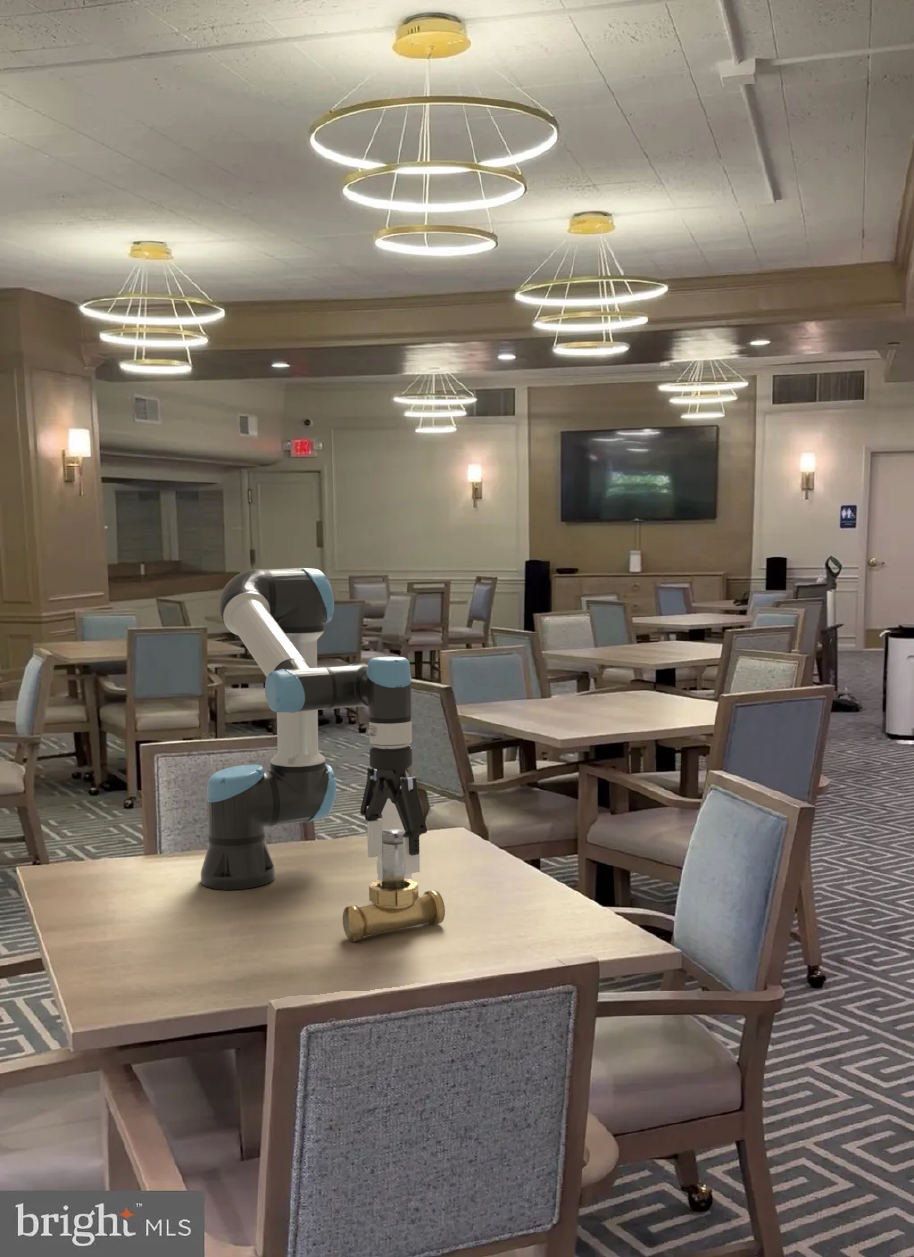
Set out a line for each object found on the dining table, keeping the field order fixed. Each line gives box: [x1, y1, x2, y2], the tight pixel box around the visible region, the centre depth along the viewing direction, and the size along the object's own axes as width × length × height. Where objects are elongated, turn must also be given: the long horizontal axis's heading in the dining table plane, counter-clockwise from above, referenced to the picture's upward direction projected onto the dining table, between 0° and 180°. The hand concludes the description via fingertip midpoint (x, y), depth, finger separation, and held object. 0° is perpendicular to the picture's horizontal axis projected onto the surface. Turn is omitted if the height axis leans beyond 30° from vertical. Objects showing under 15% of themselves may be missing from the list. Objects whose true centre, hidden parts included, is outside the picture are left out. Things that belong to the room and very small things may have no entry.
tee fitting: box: [342, 879, 446, 943], centre depth 202 cm, size 17×8×8 cm, turn 122°
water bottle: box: [376, 798, 413, 881], centre depth 224 cm, size 7×7×25 cm
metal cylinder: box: [382, 829, 405, 890], centre depth 201 cm, size 4×4×12 cm
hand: (393, 864), depth 201 cm, fingers open, 13 cm apart
